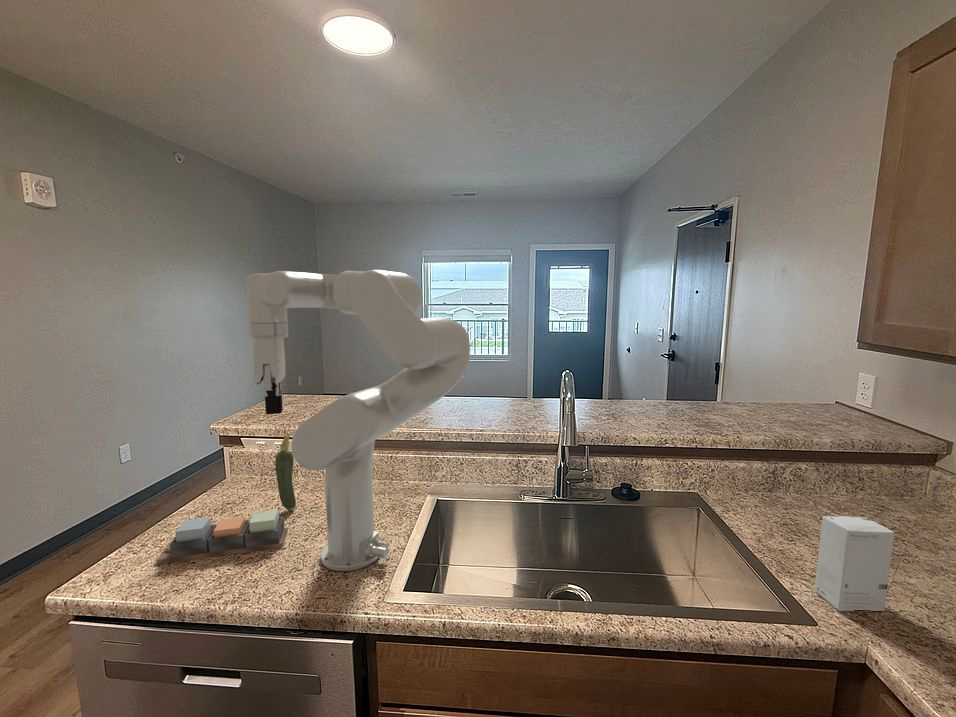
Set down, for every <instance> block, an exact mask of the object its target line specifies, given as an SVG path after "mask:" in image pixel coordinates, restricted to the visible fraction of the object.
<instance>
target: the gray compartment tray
mask: <svg viewBox="0 0 956 717" xmlns="http://www.w3.org/2000/svg"><path fill="white" fill-rule="evenodd" d="M250 520H251V519H249V520H246V526H245V528H244V530H243V532H242V534H239V535H231V536H223V537H215V538H214V533H213V531H214V529H215V528H216V526H217V525H218V523H217V524H215V523H214V524H211V530H210V531H209V533H208V534H207V536H206V537H205V539H199V540H191V541H183V542H176V536H175V537H174V538H173V540H172V541H171V542H169V544H168V545H167V546H166V548H165V549H163V551H162V552H161V553H160V554H159V556H158V557H157V559H156V560H155V561H156V565H163V564H169V563H178V562H184V561H185V562H186V561H193V560H199V559H200V560H201V559H207V558H214V557H223V556H229V555H230V556H231V555H237V554H244V553H252V552H258V551H267V550H274V548H275V549H281V547H284V545H283V544H285V542H286V539H287V538H286V537H287V536H288V533H287V532H289V531H288V527H285V516H284V515H283V516H279V524H278V527H277V529H276V530H271V531H263V532H255V533H250V526H249V522H250ZM286 535H287V536H286ZM285 538H286V539H285ZM284 541H285V542H284Z"/></svg>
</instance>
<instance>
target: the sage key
mask: <svg viewBox="0 0 956 717" xmlns="http://www.w3.org/2000/svg"><path fill="white" fill-rule="evenodd" d="M279 517H280V512H279V509H271V510H264V511H261V510H260V511H254V513H253V515H252V517H251V518H250V519H249V520H250V522H249V526H250V533H255V532H263V531H271V530H276V529H277V527H278V524H279Z"/></svg>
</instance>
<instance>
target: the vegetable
mask: <svg viewBox="0 0 956 717" xmlns="http://www.w3.org/2000/svg"><path fill="white" fill-rule="evenodd" d="M289 440H290V435H288V434H285V436H284V438H283V440H282V442H281V444H280V451H278V453H277V455H276V456H275V464H274V466H275V475H276V482H277V488H278V494H279V495H278V496H279V499H280V502H281V504H282V507H283V508H284V509H286V510H288V511H294V510H295V508H297V501H296V496H295V489H294V485H293V472H294V471H293V470H294V460H295V459H294V457H293V454H292V450H291V451H290V450H289V447H290V441H289Z"/></svg>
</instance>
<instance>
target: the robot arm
mask: <svg viewBox="0 0 956 717" xmlns="http://www.w3.org/2000/svg"><path fill="white" fill-rule="evenodd" d="M246 292H247V304H248V306H247V307H248V309H247V310H248V322H249V335H250V339H253V381H254V384H255V385H256V386H259V385H260V384H262V383H263V389H264V404H265V414H266V415H276V414H277V415H278V414H280V415H281V414H282V412H283V411H284V407H283V394H282V381H283V380H284V379H285V377H286V356H285V354H286V353H285V344H284V341H285V340H284V338H289V327H288V326H289V322H288V321H289V320H288V309H297V308H299V309H300V308H301V309H303V308H307V309H308V308H310V309H311V308H315V309H317V308H319V309H321V308H322V309H334V310H335V309H337V310H338V311H339V312H341V313H343V314H344V315H350V316H357V317H358V318H359V320H360V321H361V322H362V323H363V325H364V326H365V327H366V328H367V330H368V331H369V332H370V333H371V335H372V336H373V337H374V338H375V340H376V341H378V343H379V344H380V345H381V347H382V348H383V349H384V351H385V352H386V353H387V355H389V356H390V357H391V358H392V359H393V361H395V362H396V363H397V364H399V366H401V367H403V369H402V370H401V371H399V372H398V373H397V374H395V375H393V376H392V377H391V378H389V379H388V380H386V381H384V382H382V383H380V384H379V385H375V386H373V387H369V388H366V389H361V390H359V391H355V392H351V393H348V394H346V395H344V396H341V397H339V398H338V399H336V400H334V401H332V402H331V403H330V404H328V405H327V406H325V407H324V408H322V409H321V410H319V411H318V412H317V413H315V414H314V415H312V416H310V417H309V418H308V419H306V420H304V422H302V423H301V424H299V426H298V427H297V428H296V430H295V431H294V433H293V436H292V439H291V446H290V448H291V449H290V450H291V452H292V454H293V458H294V460H295V462H296V463H297V465H299V466H301V467H302V468H304V469H307V470H310V471H322V470H325V472H324V473H325V474H324V489H325V490H324V491H325V493H324V494H325V511H326V512H325V514H326V529H327V530H326V531H327V532H326V533H327V535H326V536H327V544H326V545H324V547H323V548H322V550H321V551H320V562H321V564H322V565H323V567H326V568H327V569H328V570H331V571H335V572H349V571H350V572H351V571H357V570H359V569H363V568H366V567H367V566H369V565H371V564H372V563H374V562H376V561H377V560H378V559H379V558H383V559H386V558H387V557H388V555H389V547H390V542H389V541H385V540H383V541H382V540H380V538H379V534H380V533H379V531H376V530H375V520H374V519H375V518H374V491H373V460H374V459H373V457H374V456H373V455H374V449H375V443H376V440H378V439H380V438H382V437H384V436H386V435H388V434H390V433H392V432H393V431H395V430H396V429H397V428H399V427H400V426H401V425H402V424H404V423H406V422H407V421H408V420H411V418H413V417H415V416H417V415H418V414H420V413H421V412H422V411H424V410H426V409H427V408H429V407H430V406H433V405H434V404H435V403H436V402H438V401H439V400H440V399H442V398H443V397H445V396H446V395H447V394H448V393H449V392H451V390H452V389H454V388H455V386H456V385H458V383H459V381H460V380H461V379H462V378H463V376H464V374H465V372H466V370H467V367H468V364H469V361H470V356H471V344H470V342H471V341H470V338H469V334H468V332H467V330H466V328H465V327H464V326H463V325H462V324H461V323H460V322H457V321H456V320H454V319H450V318H447V317H426V318H425V317H424V318H420V317H419V316H418V315H417V314H416V312H417V311H418V309H419V308H420V306H421V305H422V300H423V292H422V288H421V286H420V283H419V282H418V281H417V280H416V279H415V278H414V277H413V276H410V275H408V274H406V273H404V272H399V271H398V272H397V271H388V270H382V269H371V270H370V269H369V270H366V271H362V270H361V271H359V270H358V271H357V270H344V271H342V272H340V273H339V274H327V273H316V272H315V273H313V272H305V271H304V272H303V271H291V270H277V271H273V272H268V273H267V272H260V273H259V272H258V273H251V274H249V275H248V276H247V278H246Z"/></svg>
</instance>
